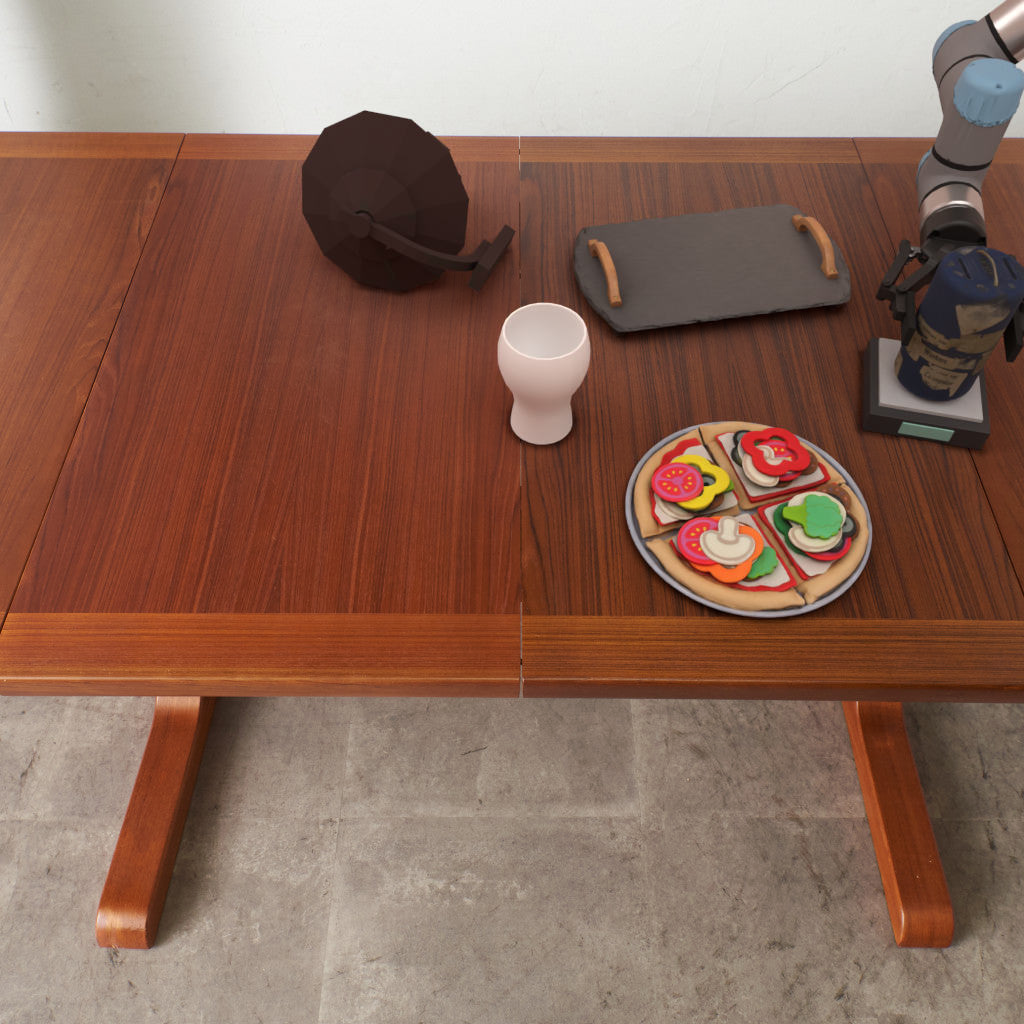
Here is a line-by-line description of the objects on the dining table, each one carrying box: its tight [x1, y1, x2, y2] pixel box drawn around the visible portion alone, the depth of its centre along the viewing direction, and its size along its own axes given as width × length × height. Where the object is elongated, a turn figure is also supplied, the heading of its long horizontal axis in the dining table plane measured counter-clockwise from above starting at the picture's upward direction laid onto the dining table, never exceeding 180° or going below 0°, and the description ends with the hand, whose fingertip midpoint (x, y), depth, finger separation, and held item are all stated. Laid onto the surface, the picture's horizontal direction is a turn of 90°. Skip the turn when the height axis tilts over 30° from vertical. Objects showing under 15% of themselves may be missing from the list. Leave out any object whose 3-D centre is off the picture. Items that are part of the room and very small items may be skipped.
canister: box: [894, 246, 1024, 401], centre depth 104 cm, size 10×10×18 cm
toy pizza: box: [624, 420, 873, 619], centre depth 101 cm, size 28×28×4 cm
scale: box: [862, 337, 991, 451], centre depth 113 cm, size 14×14×4 cm
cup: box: [497, 302, 591, 445], centre depth 106 cm, size 11×11×15 cm
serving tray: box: [572, 203, 852, 338], centre depth 126 cm, size 39×23×6 cm, turn 101°
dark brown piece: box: [301, 109, 517, 294], centre depth 126 cm, size 24×29×30 cm
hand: (961, 345), depth 102 cm, fingers open, 11 cm apart
